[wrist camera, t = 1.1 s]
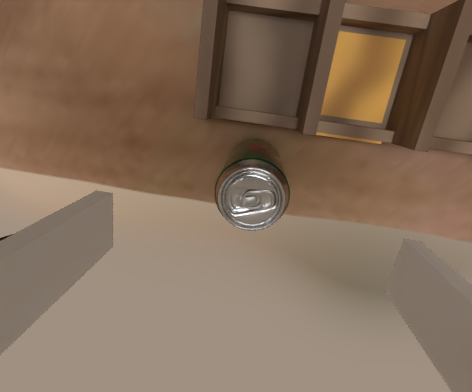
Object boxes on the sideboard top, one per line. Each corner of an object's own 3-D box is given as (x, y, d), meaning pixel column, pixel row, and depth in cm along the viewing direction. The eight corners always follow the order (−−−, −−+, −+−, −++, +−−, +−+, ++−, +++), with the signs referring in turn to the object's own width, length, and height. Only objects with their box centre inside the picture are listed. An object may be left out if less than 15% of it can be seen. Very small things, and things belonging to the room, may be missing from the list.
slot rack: (208, 117, 28) (193, 121, 22) (219, -2, 25) (206, -37, 19) (477, 156, 27) (541, 171, 21) (526, 38, 24) (619, 15, 18)
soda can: (228, 139, 29) (207, 163, 17) (278, 136, 28) (290, 158, 17) (232, 187, 30) (216, 237, 19) (279, 184, 30) (292, 234, 18)
